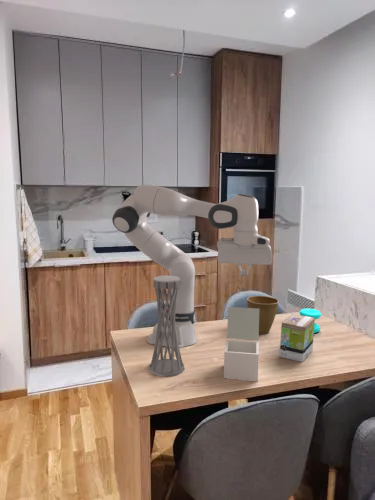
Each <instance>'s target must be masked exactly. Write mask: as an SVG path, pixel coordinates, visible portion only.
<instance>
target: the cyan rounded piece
mask: <svg viewBox="0 0 375 500" xmlns="http://www.w3.org/2000/svg"><path fill="white" fill-rule="evenodd" d="M299 315H301V316H307V317H312V318H315V320H318V319H320V318H321V317H322V313H321V312H320V310H317V309H314V308H301V309H300V310H299ZM319 332H321V326H320V325H319V324H318V323H316V322H314V334H317V333H319Z"/></svg>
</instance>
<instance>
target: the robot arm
mask: <svg viewBox="0 0 375 500" xmlns="http://www.w3.org/2000/svg"><path fill="white" fill-rule="evenodd" d="M150 214H152V215H156V216H161V217H170V218H171V217H172V218H174V217H181V216H196V217H200V218H201V217H202V218H205V219H208V221H209V224H210V225H211V226H212V227H214V228H216V229H218V230H225V229H229V228H230V229H232V228H233V237H229V238H226V237H222V238H220V239H218V240H217V243H216V247H217V250H218V251H217V261H218V263H220V264H237V267H238V269H239V273H240V274H239V275H240V276H241V277H242V276H244V277H247V276H249V271H250V270H251V268H252V265H267V266H268V265H269V266H271V265H272V264H273V251H272V248H271V245H270V242H271V240H270V238H268V237H267V236H263V235H262V234H259V233H258V232H259V230H258V221H259V203H258V199H257V198H256V197H255V196H253V195H250V194H245V193H238V194H236V195H235V196H234V197H232V198H230V199H228V200H226V201H223V202H220V203H219V202H218V203H213V202H207V201H204V200H200V199H199V200H198V199H195V198H193V197H190V196H187V195H186V194H183V193H181V192H178V191H176V190H174V189H170V188H167V187H164V186H158V185H152V184H151V185H150V184H142V185H138V186H137V187H136V188H135V189H134V192H133V193H131V195H129V196H128V197H127V198H126V199H125V200H123V202H122V203H121V205H120V206H119V207H118V208H117V209H116V210H115V212H114V213H113V215H112V218H111V219H112V221H111V222H112V224H113V226H114V228H115V229H116V230H118V231H119V232H120V233H124V235H125V236H126V238H127V239H128V241H130V243H132V244H133V246H134V247H136V248H137V249H138V250H139V251H140V252H142V254H144V255H145V256H147V257H148V258H149V259H150V260H151V261H153V262H154V263H156V264H158V265H159V266H161V267H162V268H164V269H165V270H167V271H168V272H169V273H168V274H169V275H168V276H177V277H179V278H180V287H178V291H177V297H176V311H175V322H176V331H177V339H178V345H179V349H180V348H183V347H188V346H191V345H194V344H195V343H197V342H198V338H197V333H196V328H195V323H196V310H195V303H194V302H195V282H196V281H195V280H196V279H195V278H196V277H195V276H196V268H195V264H194V262H193V259H192V258H191V257H190V256H189V255H188V254H187V253H185V252H184V251H183V250H182V249H180V248H179V247H177V246H176V245H175V244H173V243H172V242H171V241H169V240H168V239H167V238H166V237H164V236H163V235H162V234H161V233H160V232H158V231H157V230H156V229H155V228H154V227H152V226H151V225H150V224H149V223H148V221H147V218H149V217H150ZM243 264H244V265H247V269H246V270H244V269H243V268H242V265H243ZM172 293H173V289H172ZM168 302H169V305H170V297H169V301H168ZM166 311H167V313H168V308H167V309H166ZM165 321H166V318H165V317H164V322H165ZM169 322H170V316H169ZM157 326H158V322H157V323H156V324H155V325H154V327H153V329H152V332H151V333H150V334H149V335H148V337H147V339H146V340H147V341H146V342H147V343H148V344H149V345H154V346H155V342H156V334H157ZM168 330H169V329H168V326H167V328H166V332H167V335H168ZM171 330H172V325H171ZM162 332H163V325H162ZM174 341H175V340H174ZM159 344H160V340H159V342H158V346H159ZM169 346H170V348H171V346H172V340H171V337H169ZM162 347H166V339H165V336H164V340H163V344H162Z"/></svg>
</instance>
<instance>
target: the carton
mask: <svg viewBox="0 0 375 500" xmlns="http://www.w3.org/2000/svg"><path fill="white" fill-rule="evenodd" d="M225 342H226V343H225V347H224V353H223V354H224V355H223V356H224V357H223V365H224V366H223V379H224V378H227V379H226V380H235V379H238V380H237V381H246V380H248V382H249V381H250V382H258V381H259V359H260V358H259V357H260V356H259V355H260V353H259V350H260V348H259V346H260V345H259V341H253V340H239V339H227V340H226V341H225Z"/></svg>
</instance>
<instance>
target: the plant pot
mask: <svg viewBox="0 0 375 500" xmlns="http://www.w3.org/2000/svg"><path fill="white" fill-rule="evenodd" d="M246 301H247V308H257V309H259V335H267V334H269V333H270V332H271V331H270V330H271V329H272V326H273V323H274V322H275V318H276V315H277V311H278V307H279V299H277V298H275V297H273V296H272V297H271V296H267V295H266V296H265V295H252V296H248V297H247V298H246Z"/></svg>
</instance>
